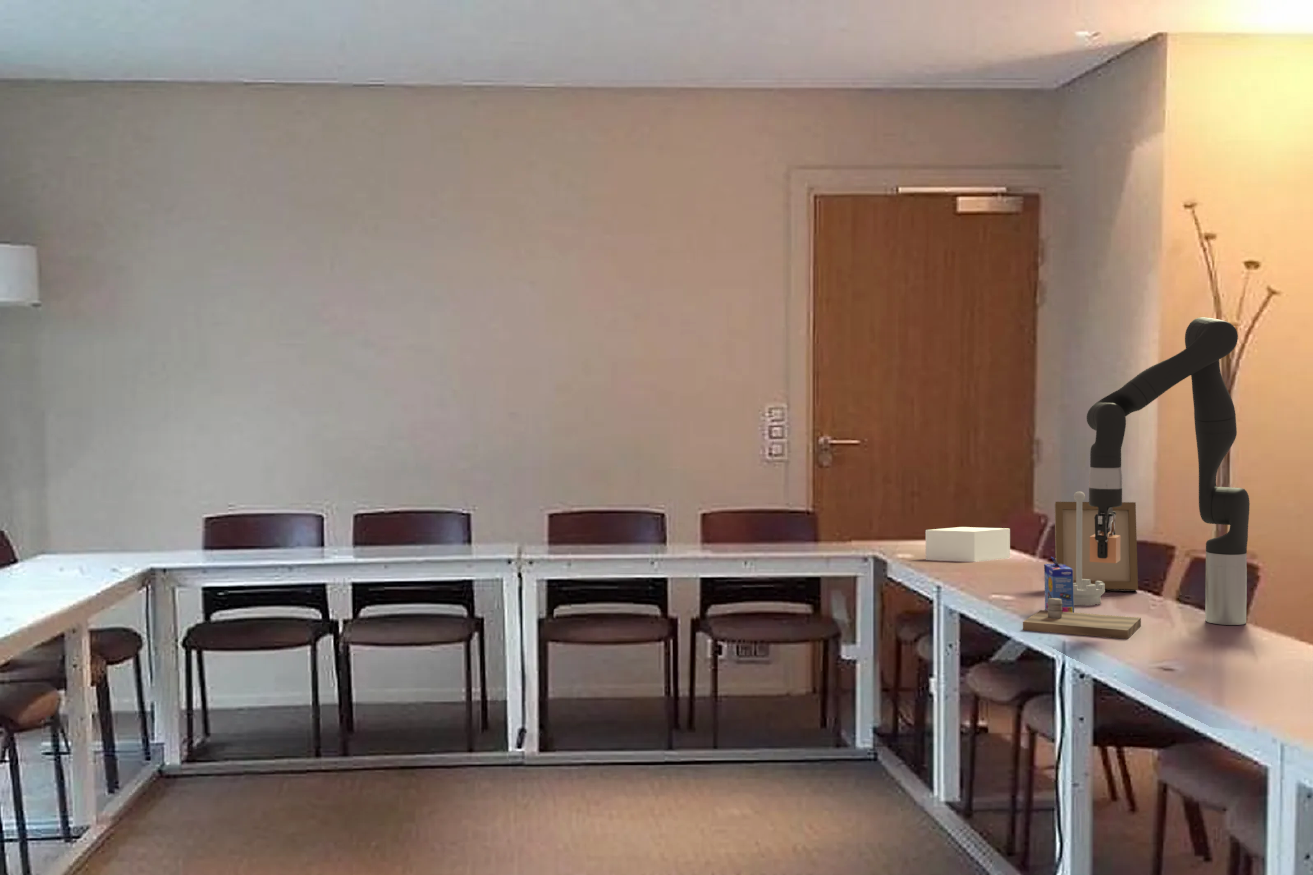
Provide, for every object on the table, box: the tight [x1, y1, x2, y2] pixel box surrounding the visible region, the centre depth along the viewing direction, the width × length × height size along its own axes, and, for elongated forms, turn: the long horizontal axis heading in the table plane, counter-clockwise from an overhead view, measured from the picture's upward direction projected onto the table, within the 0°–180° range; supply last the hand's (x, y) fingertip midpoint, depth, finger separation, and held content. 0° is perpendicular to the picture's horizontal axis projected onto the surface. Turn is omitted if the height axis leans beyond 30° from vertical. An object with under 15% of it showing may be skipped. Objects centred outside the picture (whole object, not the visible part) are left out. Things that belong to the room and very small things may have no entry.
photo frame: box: [1054, 501, 1139, 592], centre depth 373 cm, size 15×22×25 cm
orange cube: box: [1090, 534, 1121, 563], centre depth 310 cm, size 6×6×6 cm
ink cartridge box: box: [1043, 556, 1075, 613], centre depth 333 cm, size 10×6×14 cm, turn 177°
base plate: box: [1022, 598, 1142, 640], centre depth 313 cm, size 18×24×6 cm
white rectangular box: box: [925, 526, 1011, 563], centre depth 437 cm, size 14×29×10 cm, turn 94°
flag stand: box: [1073, 491, 1106, 606], centre depth 350 cm, size 13×13×30 cm
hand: (1105, 556), depth 310 cm, fingers closed on orange cube, 6 cm apart
